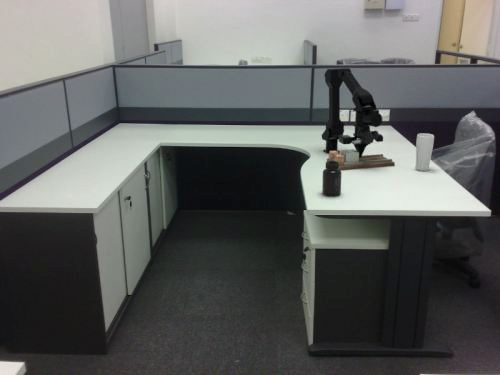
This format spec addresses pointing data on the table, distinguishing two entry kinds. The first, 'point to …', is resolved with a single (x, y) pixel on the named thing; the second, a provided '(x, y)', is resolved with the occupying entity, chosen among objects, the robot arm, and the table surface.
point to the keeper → (350, 155)
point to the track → (360, 161)
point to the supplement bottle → (331, 179)
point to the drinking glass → (424, 151)
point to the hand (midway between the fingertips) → (359, 157)
